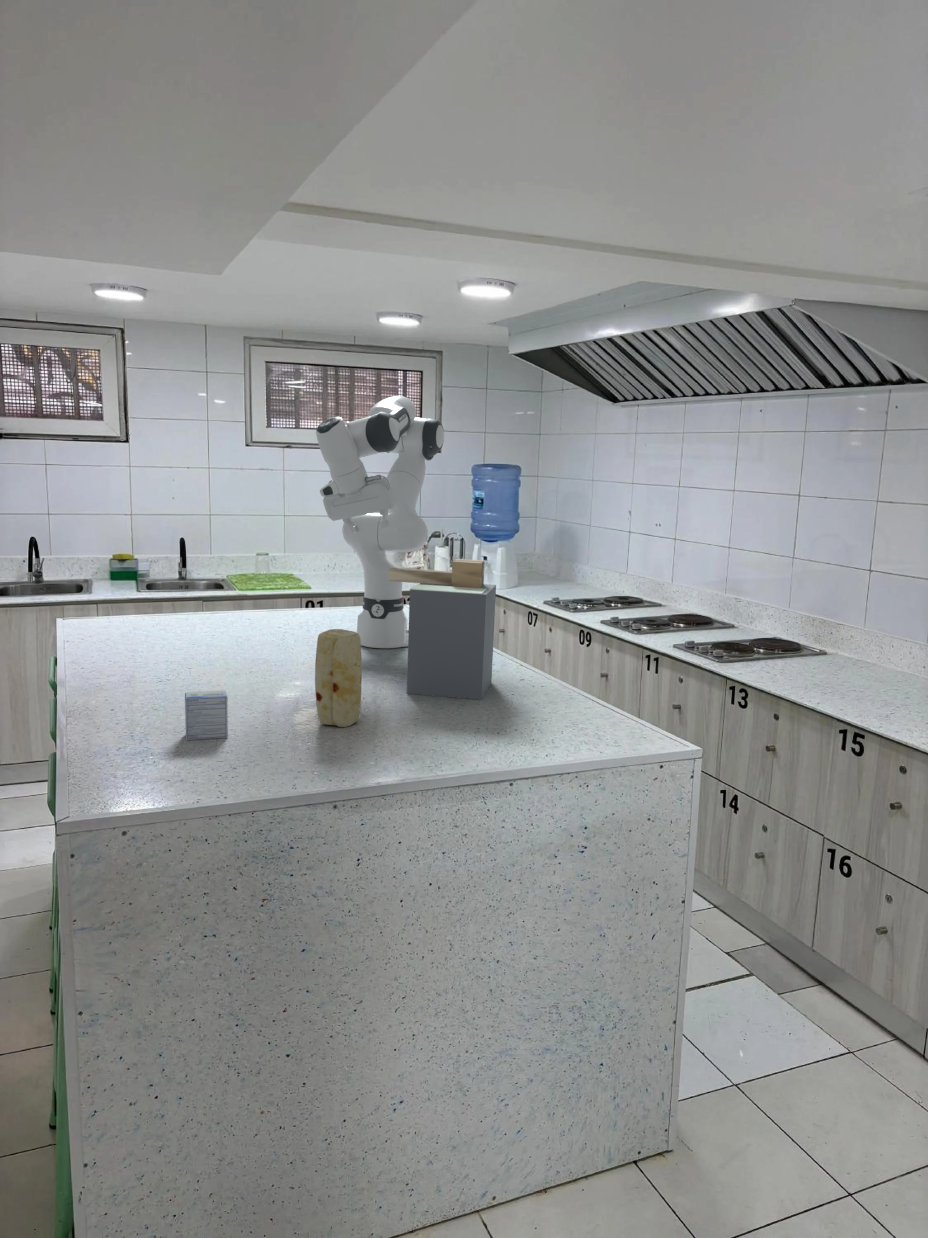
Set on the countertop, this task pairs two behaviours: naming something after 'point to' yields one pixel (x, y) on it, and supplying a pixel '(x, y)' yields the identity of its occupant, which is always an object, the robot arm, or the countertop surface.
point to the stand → (450, 640)
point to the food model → (338, 677)
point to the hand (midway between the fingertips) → (370, 528)
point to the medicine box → (206, 715)
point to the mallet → (444, 574)
